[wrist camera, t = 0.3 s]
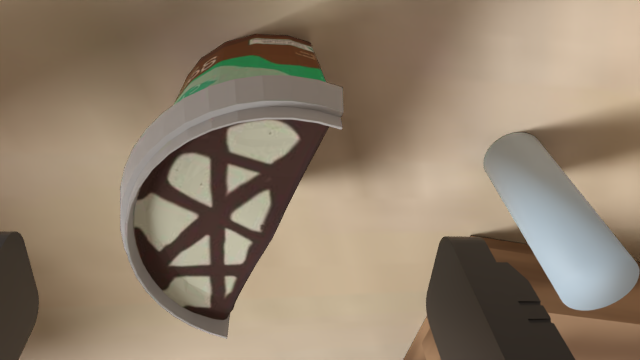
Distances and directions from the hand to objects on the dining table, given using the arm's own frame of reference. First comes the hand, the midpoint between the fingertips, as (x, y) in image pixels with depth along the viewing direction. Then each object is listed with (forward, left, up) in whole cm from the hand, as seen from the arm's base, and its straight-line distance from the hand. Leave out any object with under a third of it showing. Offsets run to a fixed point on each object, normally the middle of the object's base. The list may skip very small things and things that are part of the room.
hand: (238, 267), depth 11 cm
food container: (+5, -1, -18) cm, 19 cm away
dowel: (+5, +16, -18) cm, 24 cm away
